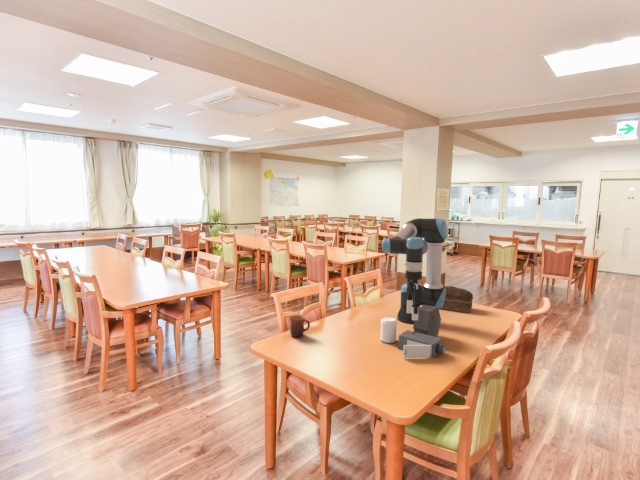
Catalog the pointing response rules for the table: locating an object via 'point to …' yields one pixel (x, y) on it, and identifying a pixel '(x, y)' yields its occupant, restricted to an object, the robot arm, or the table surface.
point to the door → (417, 351)
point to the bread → (457, 299)
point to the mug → (298, 325)
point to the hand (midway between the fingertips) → (412, 316)
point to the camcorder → (421, 341)
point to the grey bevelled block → (428, 321)
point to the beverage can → (388, 330)
